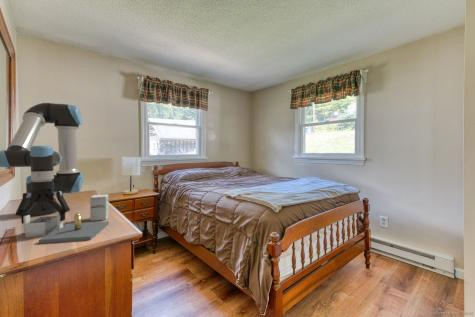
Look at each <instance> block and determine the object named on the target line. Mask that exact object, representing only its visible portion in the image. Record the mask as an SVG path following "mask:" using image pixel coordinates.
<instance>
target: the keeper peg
mask: <svg viewBox="0 0 475 317" xmlns="http://www.w3.org/2000/svg"><path fill="white" fill-rule="evenodd" d="M73 219H74V222H73V223H74V224H75V230H81V223H82V215H81V213H75V214H74V218H73Z"/></svg>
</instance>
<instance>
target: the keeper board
mask: <svg viewBox="0 0 475 317" xmlns="http://www.w3.org/2000/svg"><path fill="white" fill-rule="evenodd" d="M108 225H109V220H104V221H90V222H81V230H75V224H74V222H72V223H66V224H63V228H61V229H57V230H55V231H54V232H52V233H50V234H48V235H47V236H45V237H40V239H38V243H39V244H54V243H66V242H80V241H81V242H82V241H90V240H93V239H94V237H96V236H97V235H98V234H100V233H101V231H102V230H104V229H105V228H107V226H108Z"/></svg>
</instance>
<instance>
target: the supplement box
mask: <svg viewBox="0 0 475 317" xmlns="http://www.w3.org/2000/svg"><path fill="white" fill-rule="evenodd" d="M89 199H90V200H89V201H90V203H89V205H90V207H89V208H90V210H89V211H90V215H89V218H90V222H97V221H107V219H108V217H109V194H106V193H105V194H94V195H92V196H91V197H90V198H89Z"/></svg>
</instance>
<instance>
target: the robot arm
mask: <svg viewBox="0 0 475 317" xmlns="http://www.w3.org/2000/svg"><path fill="white" fill-rule="evenodd" d="M82 121H83V118H82V113H81V111H80V108H79V107H78V106H77V105H73V104H67V103H66V104H65V103H55V102H54V103H52V102H42V103H37V104H35V105H33V106H31V107H29V108H28V109H26V111H24V113H23V114H22V122H21V124H20V125H19V127H18V129H17V131H16V133H15V134H14V136H13V138H12V140H11V142H10V143H9V144H8V146H7V148H6V150H5V149H2V150H0V168H24V167H25V168H29V167H30V175H28V176H27V177H26V179H25V180H26V182H25V188H26V189H25V191H26V192H24V193H23V194H22V199H21V201H20V203H19V205H18V207H17V209H16V212H15V213H14V214H15V216H20V217H21V224H22V225H23V232H24V233H25V223H28V222H30V221H31V217H36V216H43V215H44V216H45V215H49V214H53V213H55V212H58V214H57V216H58V229H61V228H63V226H64V221H65V220H66V213H67V212H70V211H71V209H70V208H71V207H70V206H69V205H68V203H67V201H66V199H65V198H64V195H63V194H76V193H79V192H81V190H82V188H83V185H84V174H83V173H81V171H80V169H78V162H77V161H78V160H77V159H78V158H77V157H78V156H77V132H76V131H77V130H78V129H79V127H80V125H82V124H83V122H82ZM46 124H53V125H54V126H53V127H55V128H56V130H57V139H58V141H57V142H58V152H57V151H55V150H54V148H53V146H50V145H34V143H35V142H36V138H37V136H38V134H39V132H40V130H41V128H42V127H43V126H45V125H46ZM55 166H58V167H59V169H57V171H55V170H54V167H55ZM54 171H55V172H56V174H55V172H54ZM55 197H56V198H57V200H56V198H55Z"/></svg>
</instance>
